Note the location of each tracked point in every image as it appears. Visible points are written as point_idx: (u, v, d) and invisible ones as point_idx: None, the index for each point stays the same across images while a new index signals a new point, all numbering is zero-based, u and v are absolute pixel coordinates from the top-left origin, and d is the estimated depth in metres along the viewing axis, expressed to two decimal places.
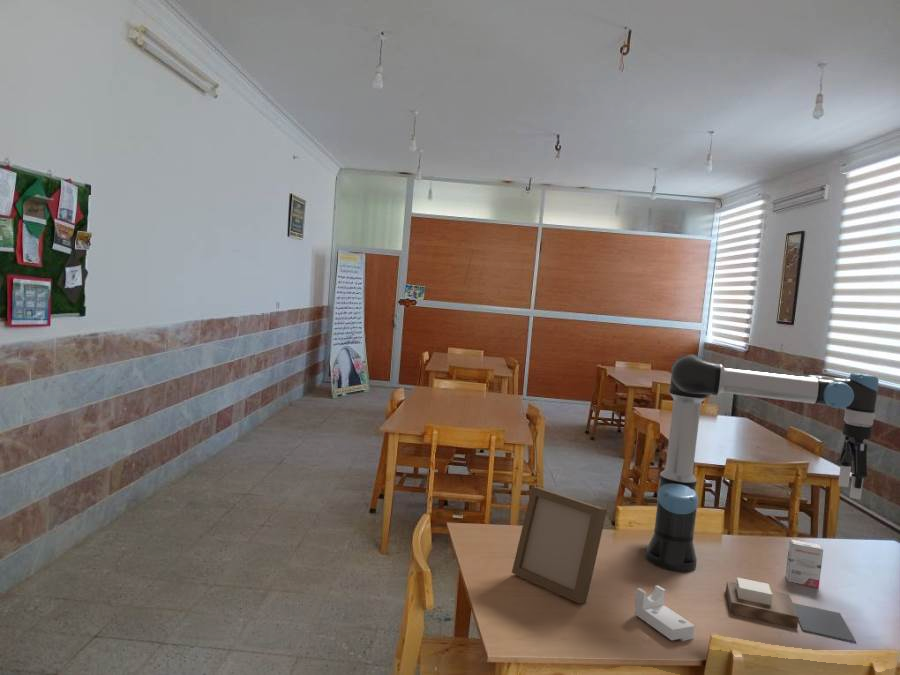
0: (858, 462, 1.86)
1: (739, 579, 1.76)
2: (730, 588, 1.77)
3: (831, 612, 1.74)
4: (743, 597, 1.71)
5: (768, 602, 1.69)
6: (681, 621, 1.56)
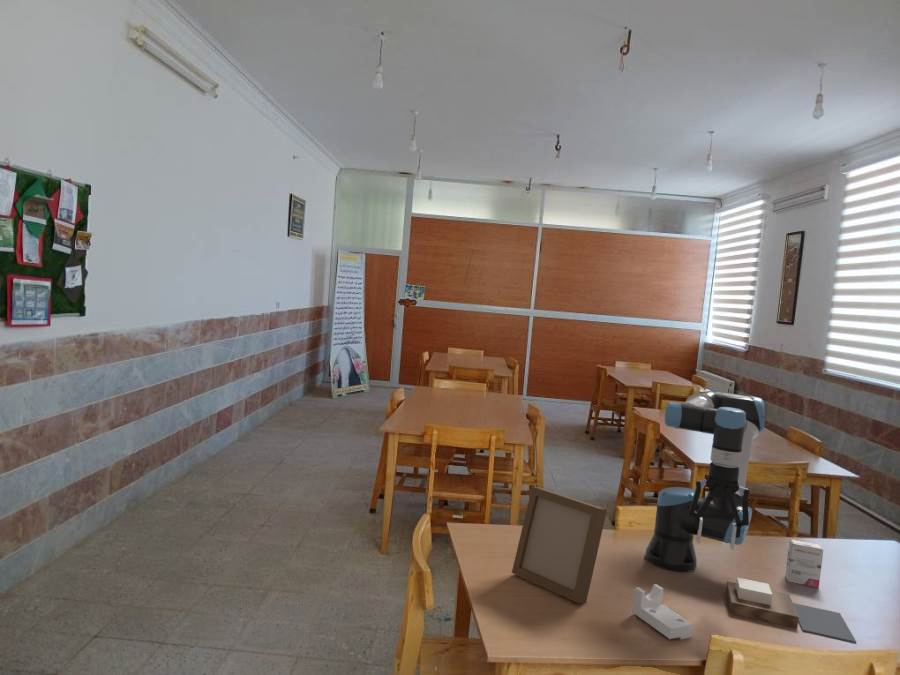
0: (692, 499, 1.78)
1: (739, 579, 1.76)
2: (730, 588, 1.77)
3: (831, 612, 1.74)
4: (743, 597, 1.71)
5: (768, 602, 1.69)
6: (679, 620, 1.56)
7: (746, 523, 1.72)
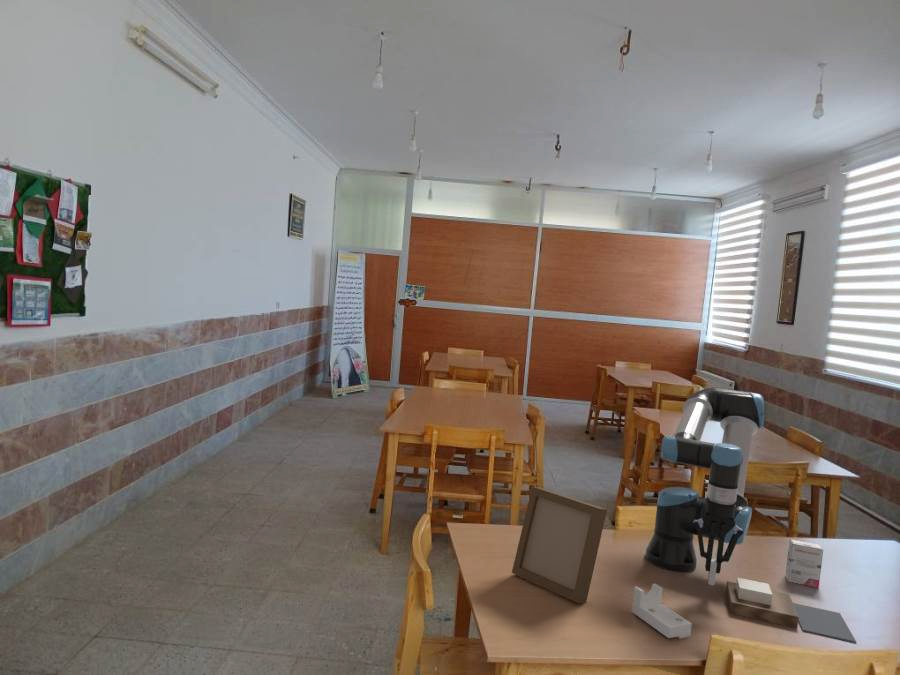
0: None
1: (739, 579, 1.76)
2: (730, 588, 1.77)
3: (831, 612, 1.74)
4: (743, 597, 1.71)
5: (768, 602, 1.69)
6: (678, 619, 1.57)
7: (726, 559, 1.74)
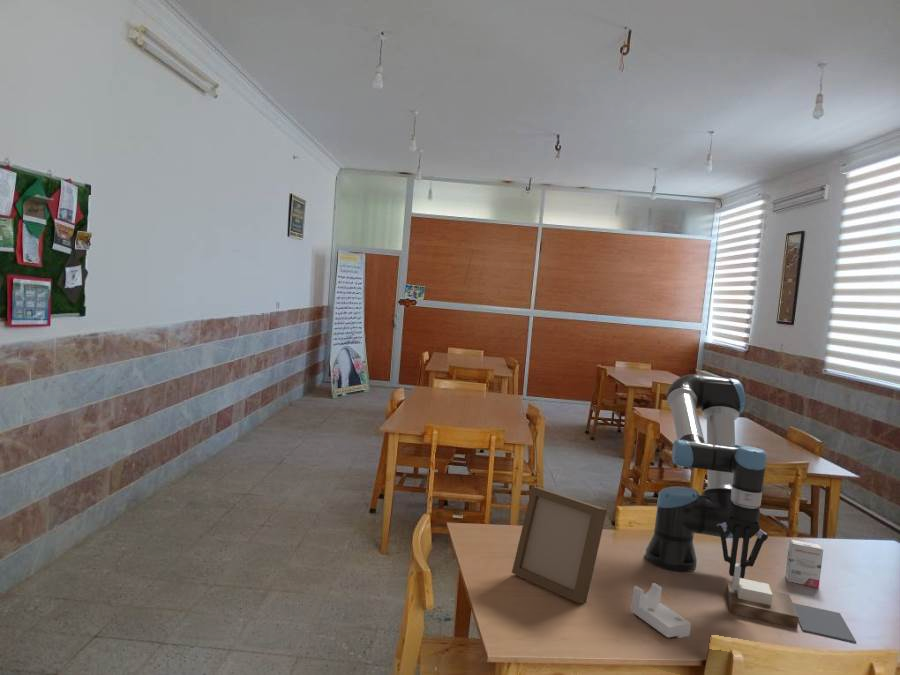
0: None
1: None
2: (730, 588, 1.77)
3: (831, 612, 1.74)
4: (743, 597, 1.71)
5: (768, 602, 1.69)
6: (677, 618, 1.57)
7: (750, 564, 1.72)
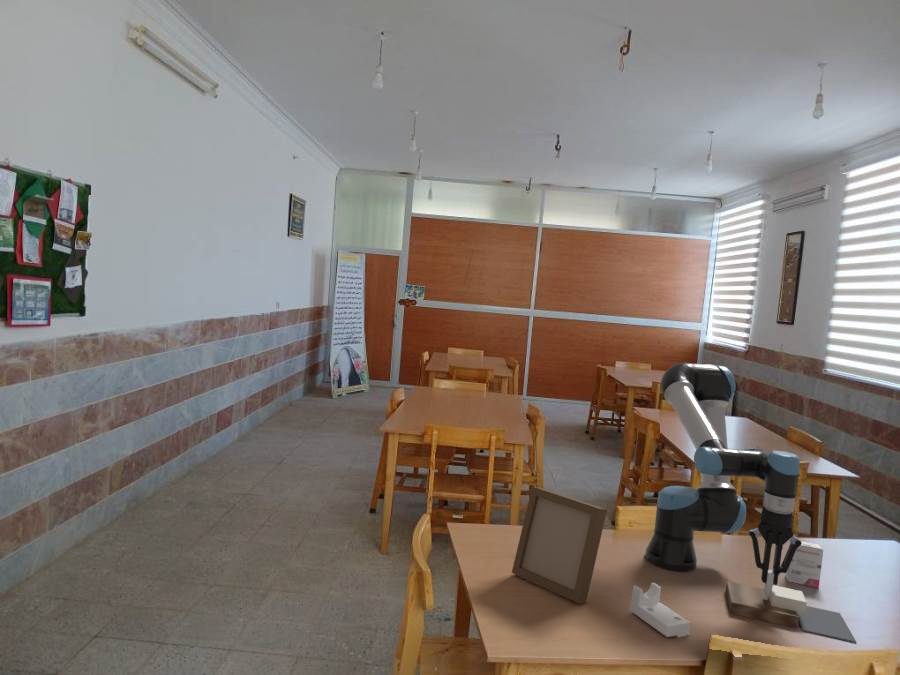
0: None
1: None
2: (730, 588, 1.77)
3: (831, 612, 1.74)
4: (776, 604, 1.68)
5: (802, 610, 1.66)
6: (677, 618, 1.57)
7: (784, 570, 1.69)
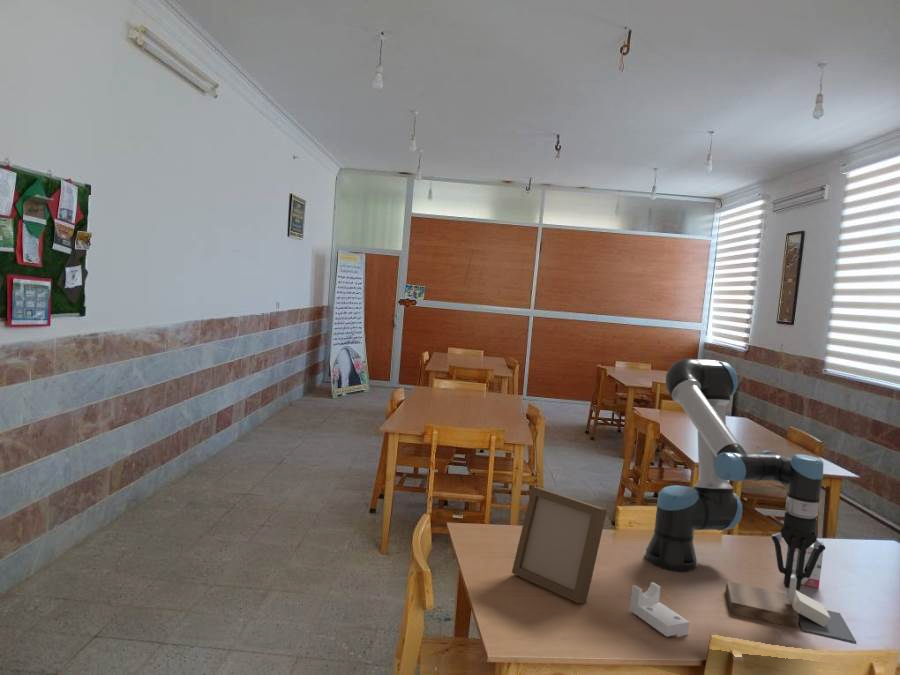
0: (776, 555, 1.72)
1: (797, 592, 1.72)
2: (730, 588, 1.77)
3: (831, 612, 1.74)
4: (799, 610, 1.66)
5: (823, 623, 1.65)
6: (676, 617, 1.57)
7: (807, 575, 1.67)
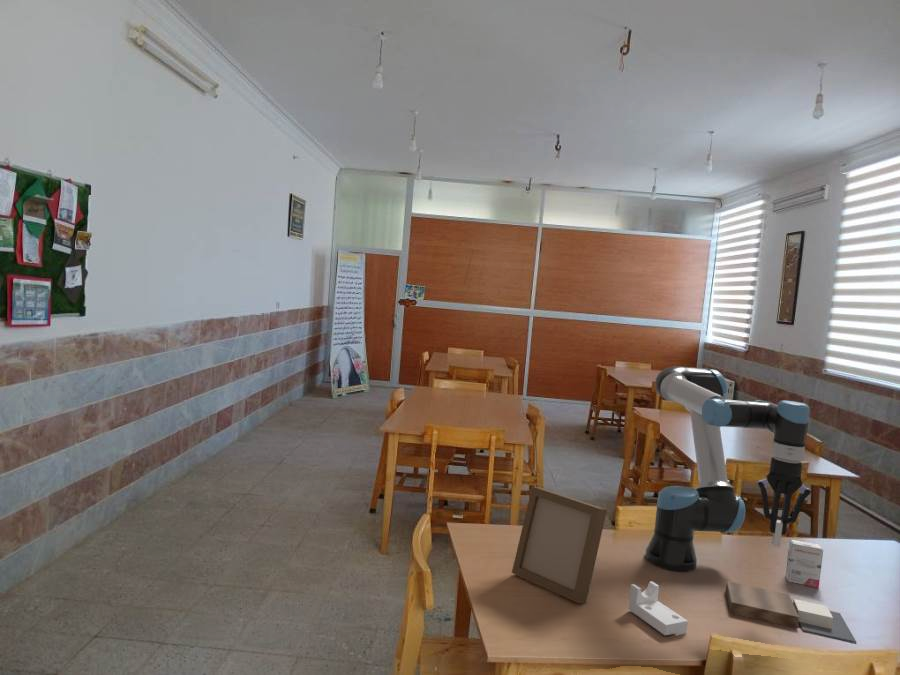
0: (762, 501, 1.73)
1: (796, 601, 1.72)
2: (730, 588, 1.77)
3: (831, 612, 1.74)
4: (802, 620, 1.66)
5: (828, 625, 1.64)
6: (674, 616, 1.58)
7: (793, 520, 1.68)
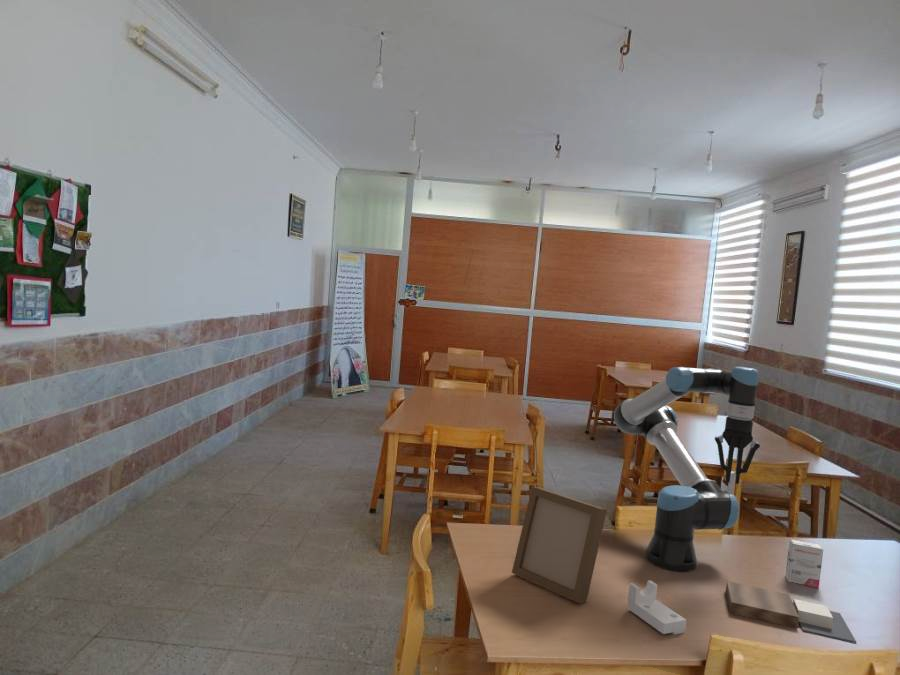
0: None
1: (796, 601, 1.72)
2: (730, 588, 1.77)
3: (831, 612, 1.74)
4: (802, 620, 1.66)
5: (828, 625, 1.64)
6: (673, 615, 1.58)
7: (744, 470, 1.93)
